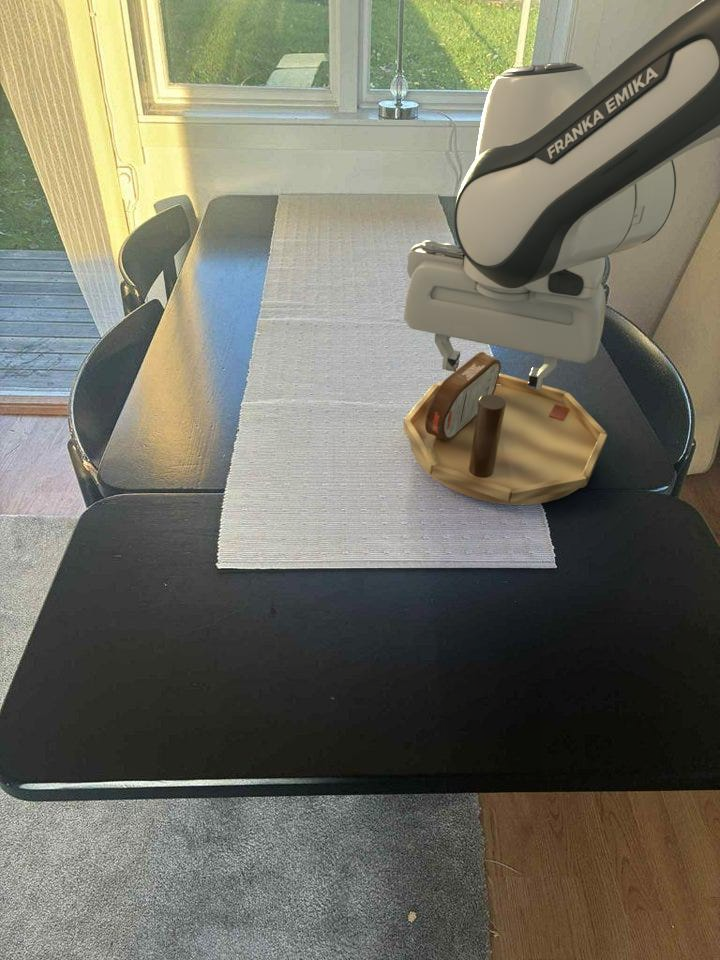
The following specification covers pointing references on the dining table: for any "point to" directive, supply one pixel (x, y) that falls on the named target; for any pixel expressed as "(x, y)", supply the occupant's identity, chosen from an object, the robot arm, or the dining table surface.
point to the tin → (461, 396)
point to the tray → (512, 445)
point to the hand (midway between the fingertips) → (491, 377)
